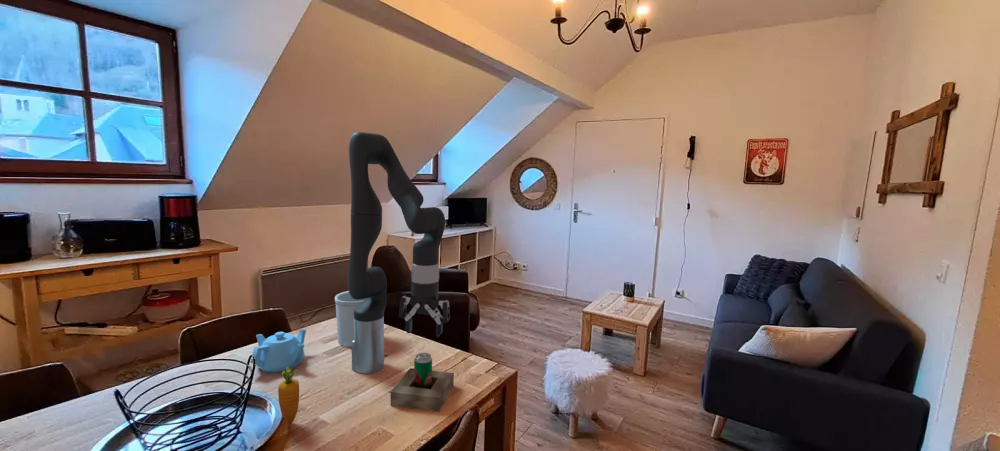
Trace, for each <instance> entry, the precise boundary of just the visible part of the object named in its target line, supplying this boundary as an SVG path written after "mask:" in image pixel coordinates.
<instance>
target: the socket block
mask: <svg viewBox="0 0 1000 451" xmlns="http://www.w3.org/2000/svg"><path fill="white" fill-rule="evenodd" d="M454 374H455V373H454V372H450V371H449V372H448V371H447V372H446V371H438V370H432V388H431V389H424V388H416V387H414V368H413V367H411V368H410V367H409V369H408V370H407V371H406V372H405V374H404V375H403V376H402V378H401V379H400V380H399V381H398V382H397V383H396V385H395V386H394V387H393V389H392V390H391V391H390V406H393V407H399V408H405V409H407V408H409V409H412V410H413V409H414V410H423V411H429V412H438V413H440V411H441V410H442V407H443V406H444V404H445V402H446V401H447V398H448V396H449V395H450V393H451V391H452V389H453V387H454V385H455V383H454V381H455V380H454V379H455V376H454Z"/></svg>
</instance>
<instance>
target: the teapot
mask: <svg viewBox="0 0 1000 451" xmlns="http://www.w3.org/2000/svg"><path fill="white" fill-rule="evenodd" d="M306 331H307V329H304V328H302V329H299V332H298V334H297V335H296V336H295V335H294V334H292V333H289V332H288V333H287V332H284V331H277V332H275V333H274V334H273V335H269V336H268V337H267V338H266V337H265V336H264V335H263V334H261V333H259V334H256V335H255V337H256V339H257V340H256V341H257V345H258V346H253V349H252V350H253V351H252V355H251V357H254V359H255V364H254V365H255V366H257V368H259V369H260V370H261V371H263V372H265V373H280V372H281V373H282V372H283V371H285V372H286V367H289V368H290V370H292V369H293V368H296V367H297V366H298V365H300V363H301V362H302V361H303V359H304V357H305V350H304V349H305V343H304V342H305V338H306V333H307V332H306ZM250 364H253V359H251V358H250Z"/></svg>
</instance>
